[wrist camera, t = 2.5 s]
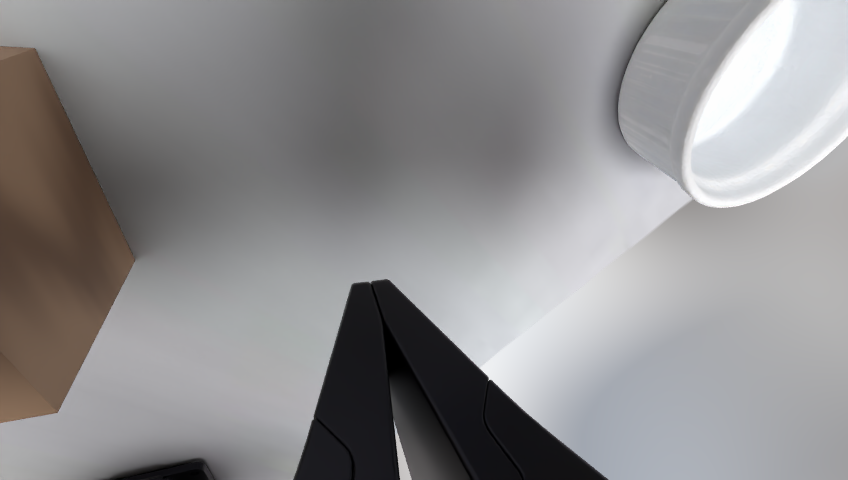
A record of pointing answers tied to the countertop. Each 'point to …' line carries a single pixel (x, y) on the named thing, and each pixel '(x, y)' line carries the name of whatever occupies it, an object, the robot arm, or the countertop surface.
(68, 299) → the walnut block
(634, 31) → the countertop surface
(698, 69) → the ramekin
